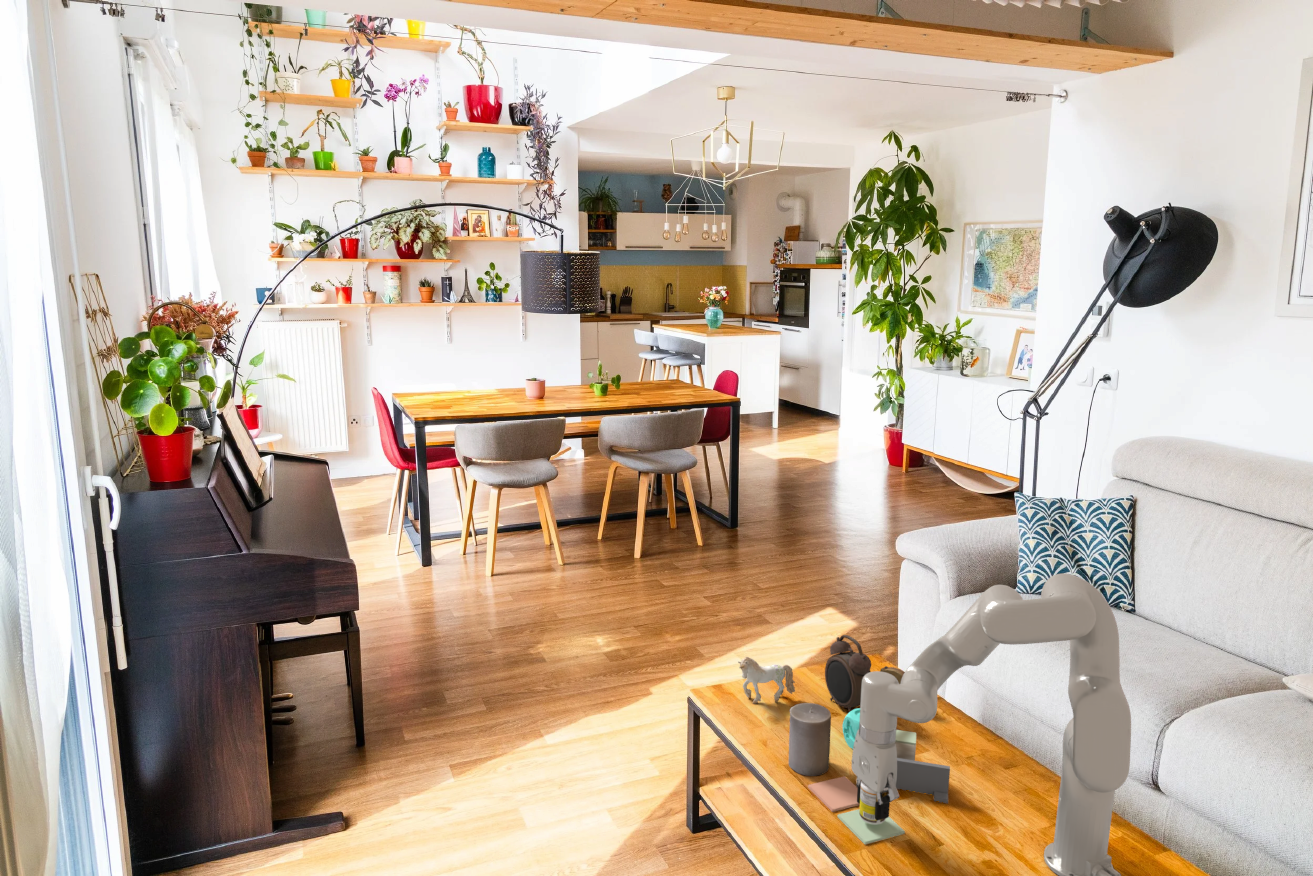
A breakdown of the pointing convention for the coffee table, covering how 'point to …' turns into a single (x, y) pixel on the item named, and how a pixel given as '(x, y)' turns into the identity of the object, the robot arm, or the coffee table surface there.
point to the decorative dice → (851, 726)
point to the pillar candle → (809, 739)
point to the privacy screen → (923, 778)
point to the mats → (844, 796)
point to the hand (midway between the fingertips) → (872, 809)
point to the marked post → (905, 744)
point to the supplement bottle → (869, 804)
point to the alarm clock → (846, 673)
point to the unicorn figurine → (765, 677)
